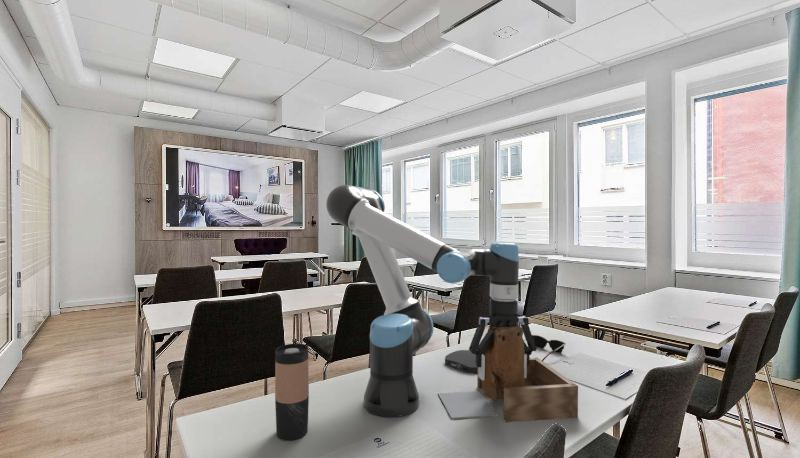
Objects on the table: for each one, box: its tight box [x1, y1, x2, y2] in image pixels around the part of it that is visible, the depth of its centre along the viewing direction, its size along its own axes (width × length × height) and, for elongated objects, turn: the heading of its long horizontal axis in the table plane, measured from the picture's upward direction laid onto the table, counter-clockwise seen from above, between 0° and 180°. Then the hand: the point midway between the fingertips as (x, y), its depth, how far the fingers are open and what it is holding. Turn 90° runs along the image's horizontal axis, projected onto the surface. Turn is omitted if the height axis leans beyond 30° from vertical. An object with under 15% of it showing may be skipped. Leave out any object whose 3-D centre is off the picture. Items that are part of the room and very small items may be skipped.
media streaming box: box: [444, 349, 477, 374], centre depth 136 cm, size 15×15×3 cm
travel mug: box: [274, 343, 310, 442], centre depth 91 cm, size 8×8×20 cm
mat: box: [437, 390, 498, 420], centre depth 105 cm, size 12×14×1 cm
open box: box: [476, 357, 579, 424], centre depth 108 cm, size 19×21×8 cm
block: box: [482, 324, 525, 401], centre depth 107 cm, size 11×8×20 cm
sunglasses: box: [523, 334, 566, 362], centre depth 146 cm, size 14×16×5 cm
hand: (502, 377), depth 107 cm, fingers closed on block, 11 cm apart
